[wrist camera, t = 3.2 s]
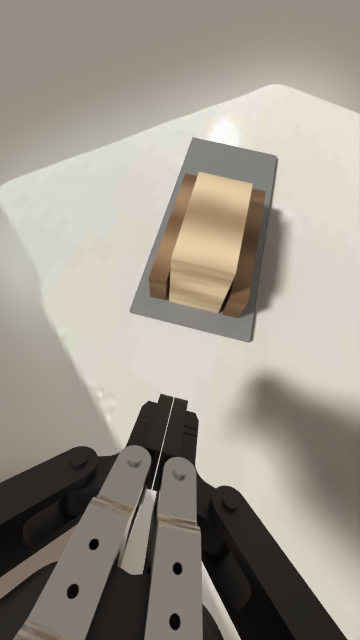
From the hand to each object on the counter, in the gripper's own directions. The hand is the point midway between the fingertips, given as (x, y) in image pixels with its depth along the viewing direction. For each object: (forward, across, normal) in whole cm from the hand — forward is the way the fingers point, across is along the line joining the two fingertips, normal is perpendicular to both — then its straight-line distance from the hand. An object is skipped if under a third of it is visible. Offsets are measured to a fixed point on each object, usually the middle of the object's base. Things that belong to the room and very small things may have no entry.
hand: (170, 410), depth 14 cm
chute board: (+22, 0, -10) cm, 24 cm away
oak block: (+17, 0, -5) cm, 18 cm away
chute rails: (+19, 0, -6) cm, 20 cm away
